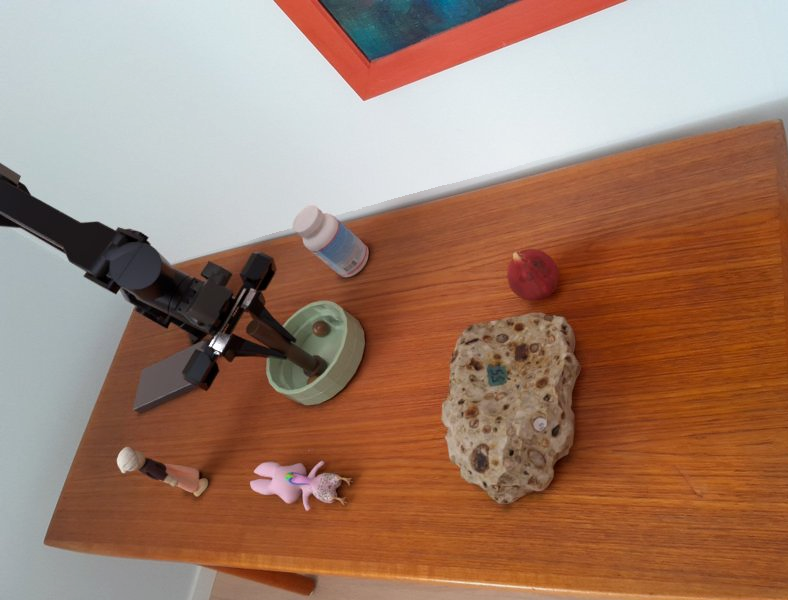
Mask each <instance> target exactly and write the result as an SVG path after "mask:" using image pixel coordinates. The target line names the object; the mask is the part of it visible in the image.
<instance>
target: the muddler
mask: <svg viewBox="0 0 788 600" xmlns="http://www.w3.org/2000/svg"><path fill="white" fill-rule="evenodd" d="M245 333H246V334H247V335H248V336H250V337H251V338H252V339H254V340H256V341H258V342H259V343H261V345H262V344H263V346H265V347H267V348H270V349H273V350H276V351H278V352H280V353H282V354H284V355H286V356H287V357H288V358H287V359H288V360H289V361H291V362H292V363H294V364H296V365H297V366H299V367H300V368H302V369H303V372H304V374H305V375H306V376H308V377H309V378H310V377H311V376H313V375H319V376H321V375H322V374H323V373H324V372H325V370H326V367H327V363H326V361H325V360H324V359H323V358H322V357H320V356H318V355H313V356H312V355H310V354H309V353H307V352H306V351H304V350H303V349H301V348H300V347H298V346H297V345H295V344H294V343H292V342H291V341H289V340H288V339H286V338H285V337H283V336H282V335H280V334H279V333H277V332H276V331H274V330H273V329H271V328H270V327H268V326H267V325H265V324H264V323H262V322H261V321H259V320H258V319H254V320H253V319H252V320H250V321H249V323H248V324H247V326H246V328H245Z"/></svg>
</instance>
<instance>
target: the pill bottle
mask: <svg viewBox="0 0 788 600" xmlns="http://www.w3.org/2000/svg"><path fill="white" fill-rule="evenodd" d="M292 230H293V232H294V233H296V234H297V236H299V237H301V238H302V243H303V246H305V248H306V249H308V250H309V251H310V252H311V253H312V254H313V255H315V257H317V258H318V259H319V260H321V261H322V262H323V263H324V264H326V266H328V267H329V268H330V269H332V270H333V271H334V272H335V273H336V274H338V275H339V276H340V277H343V278H351V277H353V276H355V275H357V274H358V273H359V272H361V271H362V270H363V269H364V268H365V266H366V264H367V262H368V259H369V254H370V253H369V247H368V246H367V245H366V244H365V242H363V241H362V240H361V239H360V238H359V237H358V236H357V235H356V234H354V233H353V232H352V231H351V230H350V229H349V228H348V227H347V226H346V225H345V224H344V223H343V222H341V220H339V219H338V218H337V217H336V216H335V215H333V214H331V213H328V212H325V213H324V212H323V211H322V210H321V209H320V208H319V207H318V206H316V205H313V204H311V205H307V206H305V207H304V208H303V209H301V210H300V211H299V212H298V213H297V215H296V216H295V218H294V219H293V222H292Z"/></svg>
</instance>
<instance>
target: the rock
mask: <svg viewBox="0 0 788 600" xmlns="http://www.w3.org/2000/svg"><path fill="white" fill-rule="evenodd" d="M575 337H576V335H575V333H574V330H573V327H572V326H571V324H569V323H568V321H567V319H566V318H565V317H564V316H557V315H555V314H552V315H549V314H546V313H545V312H530V313H526V314H523V315H516V316H511V317H510V316H509V317H505V318H501V319H497V320H491V321H482V322H479V323H472V324H470V325H468V326H467V327H466V328H465V329H464V330H463V331H462V332H461V334H460V335H459V337H458V339H457V341H456V342H455V348H454V350H453V352H452V354H451V357H450V361H449V373H450V374H449V377H448V378H449V384H448V391H447V395H446V398H445V400H444V401H443V402H442V404H441V419H440V420H441V422H442V423H443V425H444V426H445V428H446V430H447V431H446V434H445V435H444V439H445V440H446V445H447V451H448V458H449V461H450V462H451V465H457V466H458V468H459V470H460V478H461V479H462V480H465V481H466V482H467V483H468V484H474V485H475V486H478V487H479V488H481V489H482V490H484V491H485V492H486V493H487V495H488V496H489V497H490V498H491V499H492V500H494V501H495V502H496V503H498V504H499V505H501V506H502V505H508V504H509V505H510V504H511V503H514V502H516V501H517V500H519V499H521V498H522V497H525V496H526V495H530V494H532V493H533V492H534V491H536V492H542V491H544V490H545V489H547V488H548V487H549V485H550V484H551V482H552V481H553V479H554V475H555V470H554V466H555V465H556V462H557V461H559V460H560V459H562V458H563V457H565V456H567V455H568V454H569V453H570V449H571V448H572V447H573V445H574V436H575V413H574V411H573V410H572V404H573V390H574V387H575V384H576V381H577V378H578V377H579V375H580V373H581V368H582V366H581V365H580V362H579V360H578V359H577V358H576V355H575V349H576V343H577V341H576V338H575Z"/></svg>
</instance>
